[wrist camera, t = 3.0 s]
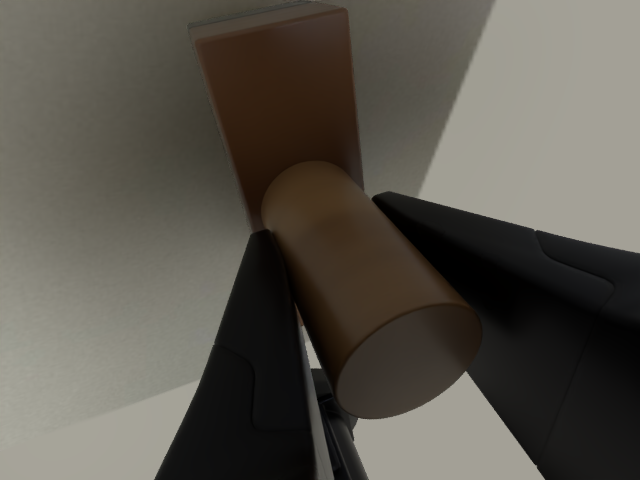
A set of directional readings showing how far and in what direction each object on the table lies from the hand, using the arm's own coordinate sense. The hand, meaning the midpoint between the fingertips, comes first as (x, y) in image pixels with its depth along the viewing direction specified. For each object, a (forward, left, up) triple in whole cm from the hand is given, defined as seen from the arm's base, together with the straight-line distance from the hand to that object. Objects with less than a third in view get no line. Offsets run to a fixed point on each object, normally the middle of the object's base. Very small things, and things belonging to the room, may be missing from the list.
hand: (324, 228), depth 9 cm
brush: (0, 0, -4) cm, 4 cm away
